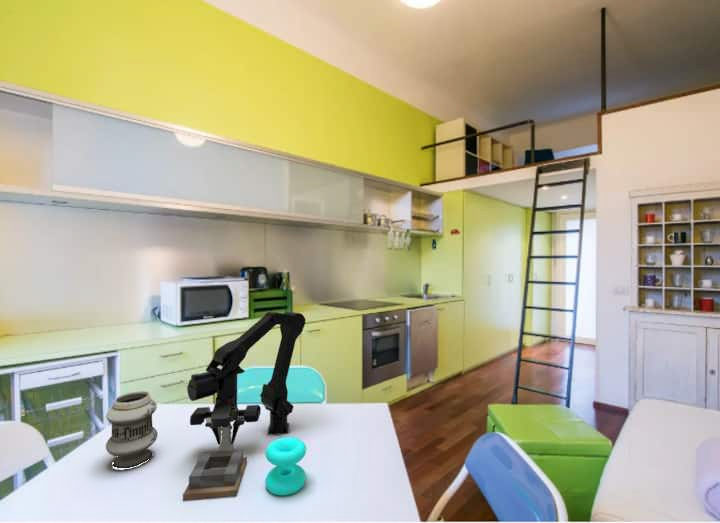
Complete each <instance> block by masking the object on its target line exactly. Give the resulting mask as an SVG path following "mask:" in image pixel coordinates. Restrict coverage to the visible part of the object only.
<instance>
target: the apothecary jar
mask: <svg viewBox="0 0 720 523" xmlns="http://www.w3.org/2000/svg"><path fill="white" fill-rule="evenodd" d="M157 405H158V404H157V402H156V401H155V400H154V399H153V398H152V397H151V393H150V392H149V391H147V390H146V391H145V390H138V391H137V390H136V391H132V392H127V393H124V394H121V395H119V396H117V397H115V399H114V400H113V404H112V406H111V407H110V408H109V409H108V410H107V412H106V415H105V418H106V420H107V422H109V423H111V436H110V437H109V438H108V440H107V442H106V443H105V450H106V452H107V453H108V454H110V455H111V456H114V458H113V460H114V461H113V460H112V461H113V462H114V464H113V466H114V467H117V468H130V467H134V466H137V465H139V464H141V463H143V462H145V461H147V460H148V459H150V457H152V458H153V456H152V453H153V451H152V450H150V449H148V448H150V447H151V446H152V445H153V444H154V443H155V442H156V441H157V439H158V431H157V429H156V428H155V427H154V426H153V414H154V413H155V412H156V410H157V407H158V406H157ZM151 451H152V452H151ZM117 456H118V457H117ZM150 460H151V459H150Z"/></svg>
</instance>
